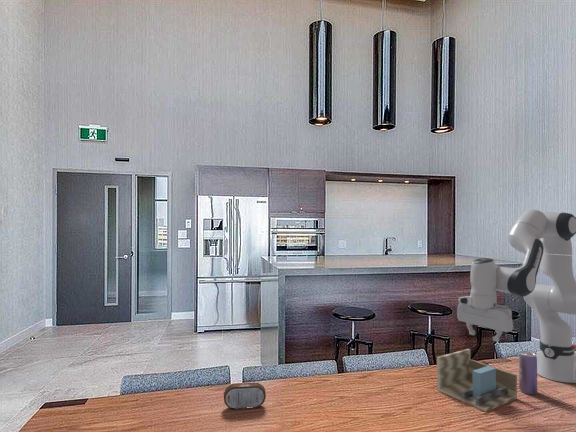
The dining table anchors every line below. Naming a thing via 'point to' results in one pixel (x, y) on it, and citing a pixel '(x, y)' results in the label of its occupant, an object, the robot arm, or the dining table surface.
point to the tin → (244, 395)
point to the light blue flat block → (483, 381)
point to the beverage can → (528, 372)
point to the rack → (459, 383)
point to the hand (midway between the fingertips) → (483, 338)
